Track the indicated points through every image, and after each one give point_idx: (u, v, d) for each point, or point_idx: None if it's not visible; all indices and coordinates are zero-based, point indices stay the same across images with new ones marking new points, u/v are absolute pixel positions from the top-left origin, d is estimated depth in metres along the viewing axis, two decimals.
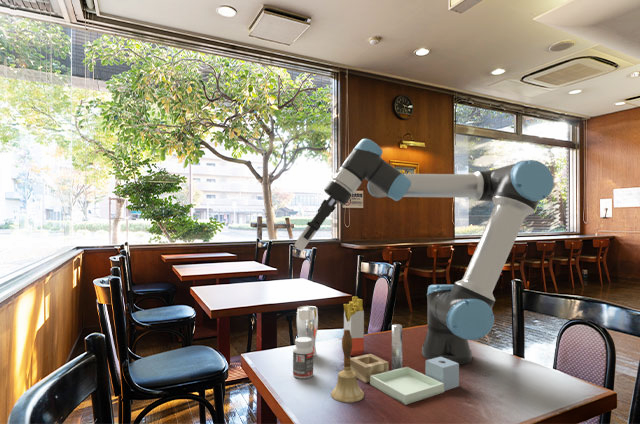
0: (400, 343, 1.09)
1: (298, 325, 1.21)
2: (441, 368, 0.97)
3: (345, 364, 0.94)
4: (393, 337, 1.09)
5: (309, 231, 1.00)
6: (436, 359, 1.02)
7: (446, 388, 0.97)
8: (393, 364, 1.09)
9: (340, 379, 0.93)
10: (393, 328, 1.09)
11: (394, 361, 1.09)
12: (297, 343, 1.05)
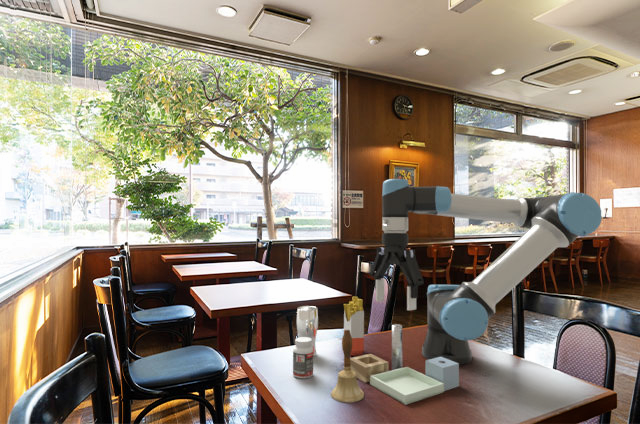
0: (400, 343, 1.09)
1: (298, 325, 1.21)
2: (441, 368, 0.97)
3: (345, 364, 0.94)
4: (393, 337, 1.09)
5: (415, 290, 1.03)
6: (436, 359, 1.02)
7: (446, 388, 0.97)
8: (393, 364, 1.09)
9: (340, 379, 0.93)
10: (393, 328, 1.09)
11: (394, 361, 1.09)
12: (297, 343, 1.05)
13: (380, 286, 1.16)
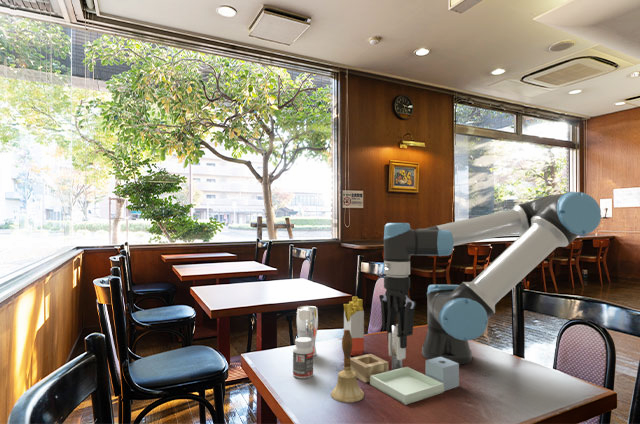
0: None
1: (298, 325, 1.21)
2: (441, 368, 0.97)
3: (345, 364, 0.94)
4: (393, 337, 1.09)
5: (404, 340, 1.07)
6: (436, 359, 1.02)
7: (446, 388, 0.97)
8: (393, 364, 1.09)
9: (340, 379, 0.93)
10: (393, 328, 1.09)
11: (394, 361, 1.09)
12: (297, 343, 1.05)
13: None
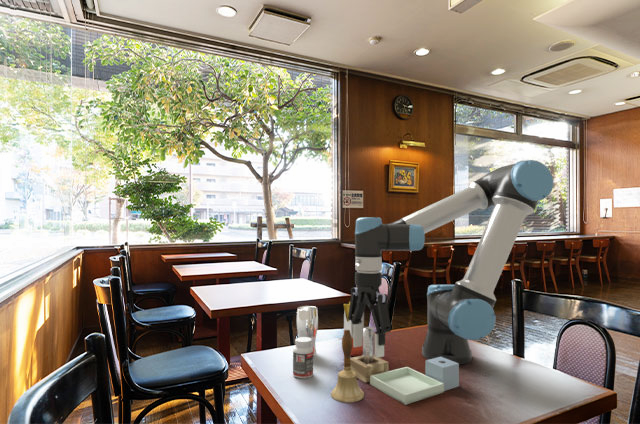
0: (371, 346, 1.06)
1: (298, 325, 1.21)
2: (441, 368, 0.97)
3: (345, 364, 0.94)
4: (364, 340, 1.06)
5: (382, 337, 1.01)
6: (436, 359, 1.02)
7: (446, 388, 0.97)
8: None
9: (340, 379, 0.93)
10: (364, 331, 1.06)
11: None
12: (297, 343, 1.05)
13: (358, 331, 1.11)
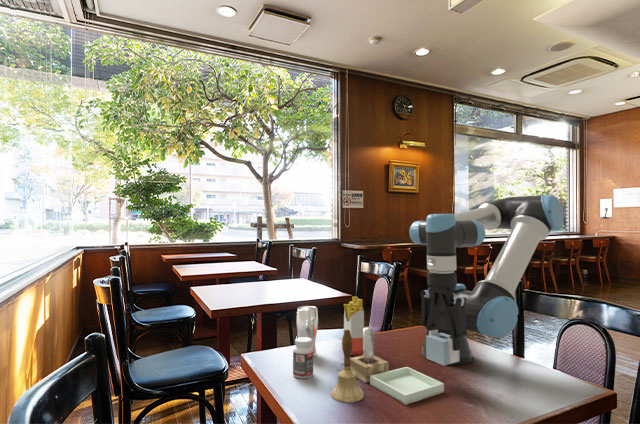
0: (371, 346, 1.06)
1: (298, 325, 1.21)
2: (441, 342, 0.97)
3: (345, 364, 0.94)
4: (364, 340, 1.06)
5: (457, 342, 0.97)
6: (436, 335, 1.03)
7: (447, 362, 0.97)
8: None
9: (340, 379, 0.93)
10: (364, 331, 1.06)
11: None
12: (297, 343, 1.05)
13: None
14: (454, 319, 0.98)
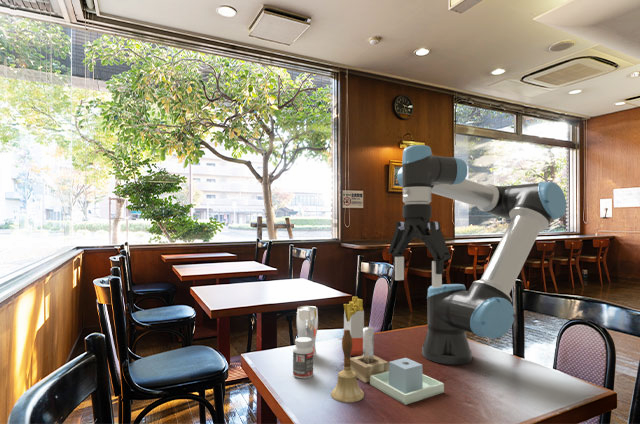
0: (371, 346, 1.06)
1: (298, 325, 1.21)
2: (403, 370, 0.94)
3: (345, 364, 0.94)
4: (364, 340, 1.06)
5: (440, 265, 0.94)
6: (400, 360, 1.00)
7: (408, 390, 0.94)
8: None
9: (340, 379, 0.93)
10: (364, 331, 1.06)
11: None
12: (297, 343, 1.05)
13: (400, 264, 1.06)
14: (434, 244, 0.96)
